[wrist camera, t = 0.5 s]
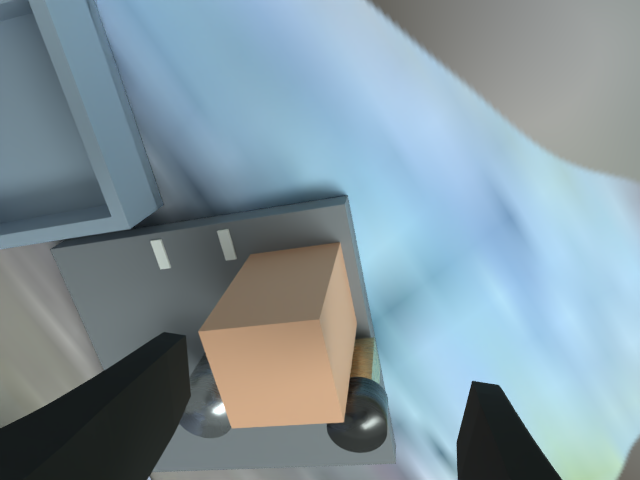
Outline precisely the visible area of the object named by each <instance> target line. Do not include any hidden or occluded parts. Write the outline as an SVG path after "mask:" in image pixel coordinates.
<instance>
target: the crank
mask: <svg viewBox="0 0 640 480" xmlns="http://www.w3.org/2000/svg"><path fill="white" fill-rule="evenodd" d="M189 378H190V390H191V397H190V399H189V402H188V404H187V406H186V409H185V411H184V414H183V416H182V418H181V420H180V423H179V424H180V425H181V426H182V427H183V428H184V429H185V430H187V431H188V432H190V433H192V434H193V435H196V436H199V437H203V438H218V437H221V436H223V435H225V434H226V433H228V431H229V430H230V429H231V425H230V422H229V419H228V416H227V413H226V411H225V408H224V405H223V402H222V399H221V396H220V393H219V390H218V387H217V385H216V382H215V379H214V376H213V373H212V370H211V367H210V364H209V362H208V359H207V356H206V353H205V352H204V354H203V356H202V357H201V359H200V360H199V362H198V364H197V365H196V367H195V369H194V370H193V372H192V374H191V375H190V377H189ZM379 383H380V363H379V358H378V353H377V348H376V342H375V337H373V338H362V339H355V343H354V350H353V358H352V365H351V373H350V380H349V388H348V395H347V403H346V410H345V418H344V422H342V423H327V432H328V435H329V437H330V438H331V440H332V441H333V442H334V443H335V444H336V445H337V446H339V447H340V448H342V449H344V450H347V451H350V452H355V453H366V452H370V451H373V450H375V449H377V448H379V447H380V446H381V445H382V444H383V443H384V441H385V440H386V437H387V422H388V397H387V394H386V392H385V390H384V389H383V388H382V386H380V385H379Z"/></svg>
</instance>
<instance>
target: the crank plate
mask: <svg viewBox="0 0 640 480" xmlns="http://www.w3.org/2000/svg"><path fill="white" fill-rule="evenodd" d="M337 242H340V243H341V248H342V253H343V258H344V263H345V268H346V272H347V277H348V282H349V287H350V292H351V297H352V302H353V306H354V311H355V316H356V321H357V328H356V335H355V339H362V338H373V337H375V335H374V330H373V324H372V319H371V314H370V309H369V304H368V298H367V293H366V288H365V283H364V278H363V273H362V267H361V262H360V257H359V252H358V247H357V241H356V236H355V231H354V226H353V221H352V215H351V210H350V205H349V200H348V195H347V196H341V197H334V198H328V199H322V200H315V201H309V202H302V203H296V204H290V205H283V206H277V207H271V208H264V209H258V210H251V211H245V212H239V213H232V214H226V215H220V216H213V217H207V218H200V219H194V220H188V221H181V222H175V223H169V224H162V225H156V226H149V227H143V228H137V229H130V230H124V231H118V232H111V233H105V234H98V235H92V236H86V237H79V238H73V239H67V240H65V241H63V242H62V243H60V244H58V245H57V246H55V247H53V248H52V249H50V250H51V252H52V255H53V257H54V259H55V261H56V264H57V266H58V268H59V270H60V273H61V275H62V277H63V279H64V282H65V284H66V286H67V288H68V290H69V293H70V295H71V297H72V299H73V302H74V304H75V306H76V308H77V311H78V313H79V315H80V317H81V320H82V322H83V324H84V326H85V329H86V331H87V333H88V335H89V338H90V340H91V342H92V344H93V347H94V349H95V351H96V353H97V356H98V358H99V360H100V362H101V365H102V367H103V369H104V370H106V369H107V368H109V367H111V366H112V365H114V364H115V363H117V362H118V361H120V360H121V359H123V358H124V357H126V356H127V355H129V354H130V353H132V352H133V351H135V350H137V349H138V348H140V347H141V346H143V345H144V344H146V343H147V342H149V341H150V340H152V339H153V338H155V337H156V336H158V335H160V334H161V333H163V332H168V333H174V334H181V335H186V342H187V354H188V366H189V377H190V375H191V374H192V372H193V370H194V369H195V367H196V365H197V364H198V362H199V360H200V359H201V357H202V356H203V354H204V352H205V350H204V347H203V344H202V341H201V339H200V336H199V333H198V331H199V330H200V328H201V327H202V325H203V324H204V322H205V321H206V319H207V318H208V316H209V315H210V313H211V312H212V310H213V309H214V307H215V306H216V305H217V303H218V302H219V300H220V299H221V297H222V296H223V294H224V293H225V291H226V290H227V288H228V287H229V285H230V284H231V282H232V281H233V279H234V278H235V276H236V275H237V273H238V272H239V270H240V269H241V268H242V266H243V265H244V263H245V262H246V260H247V259H248V257H249V256H250V254H257V253H264V252H271V251H279V250H286V249H293V248H301V247H308V246H315V245H323V244H330V243H337ZM375 342H376V340H375ZM376 348H377V345H376ZM377 353H378V350H377ZM378 358H379V356H378ZM379 363H380V361H379ZM379 385H380V386H382V388H383V389H384V390H385V387H384V382H383V376H382V371H381V366H380V383H379ZM370 464H396V444H395V439H394V434H393V428H392V423H391V418H390V413H389V408H388V422H387V437H386V440H385V441H384V443H383V444H382V445H381V446H380V447H379V448H377V449H375V450H373V451H370V452H366V453H355V452H350V451H347V450H344V449H342V448H340V447H339V446H337V445H336V444H335V443H334V442H333V441H332V440H331V438H330V437H329V435H328V432H327V423H323V424H305V425H287V426H268V427H250V428H231V429H230V430H229V431H228V433H226V434H225V435H223V436H221V437H218V438H203V437H199V436H196V435H193V434H192V433H190V432H188V431H187V430H185V429H184V428H183V427H182V426H181V425H180V424H179V425H178V427H177V429H176V431H175V433H174V435H173V437H172V439H171V440H170V442H169V444H168V445H167V447H166V449H165V451H164V452H163V454H162V456H161V457H160V459H159V461H158V462H157V464H156V466H155V467H154V469H153V471H152V472H169V471H198V470H227V469H255V468H284V467H313V466H341V465H370Z"/></svg>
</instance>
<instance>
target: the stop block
mask: <svg viewBox="0 0 640 480" xmlns="http://www.w3.org/2000/svg"><path fill="white" fill-rule="evenodd" d="M356 328H357V321H356V316H355V311H354V306H353V302H352V297H351V292H350V287H349V282H348V277H347V272H346V268H345V263H344V258H343V253H342V248H341V243H340V242H337V243H330V244H323V245H315V246H308V247H301V248H293V249H286V250H279V251H271V252H264V253H257V254H250V256H249V257H248V259H247V260H246V262H245V263H244V265H243V266H242V268H241V269H240V270H239V272H238V273H237V275H236V276H235V278H234V279H233V281H232V282H231V284H230V285H229V287H228V288H227V290H226V291H225V293H224V294H223V296H222V297H221V299H220V300H219V302H218V303H217V305H216V306H215V307H214V309H213V310H212V312H211V313H210V315H209V316H208V318H207V319H206V321H205V322H204V324H203V325H202V327H201V328H200V330H199V331H198V333H199V336H200V339H201V341H202V344H203V347H204V350H205V353H206V356H207V359H208V362H209V364H210V367H211V370H212V373H213V376H214V379H215V382H216V385H217V387H218V390H219V393H220V396H221V399H222V402H223V405H224V408H225V411H226V413H227V416H228V419H229V422H230V425H231V428H250V427H268V426H287V425H305V424H323V423H342V422H344V418H345V410H346V403H347V395H348V388H349V380H350V373H351V365H352V358H353V350H354V343H355V335H356Z"/></svg>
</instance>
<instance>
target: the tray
mask: <svg viewBox="0 0 640 480" xmlns="http://www.w3.org/2000/svg"><path fill="white" fill-rule="evenodd" d="M163 205H164V204H163V201H162V198H161V196H160V193H159V190H158V187H157V184H156V181H155V178H154V175H153V172H152V169H151V166H150V163H149V160H148V157H147V154H146V151H145V148H144V146H143V143H142V140H141V137H140V134H139V131H138V128H137V125H136V122H135V119H134V116H133V113H132V110H131V107H130V104H129V101H128V98H127V96H126V93H125V90H124V87H123V84H122V81H121V78H120V75H119V72H118V69H117V66H116V63H115V60H114V57H113V54H112V51H111V48H110V46H109V43H108V40H107V37H106V34H105V31H104V28H103V25H102V22H101V19H100V16H99V13H98V10H97V7H96V4H95V1H94V0H0V249H5V248H12V247H18V246H24V245H31V244H37V243H44V242H50V241H56V240H63V239H69V238H75V237H82V236H88V235H94V234H101V233H107V232H114V231H120V230H126V229H131V228H132V227H134V226H135V225H136V224H138V223H139V222H141V221H142V220H143V219H145V218H146V217H148V216H149V215H150V214H152V213H153V212H155V211H156V210H157V209H159V208H160V207H162V206H163Z"/></svg>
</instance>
